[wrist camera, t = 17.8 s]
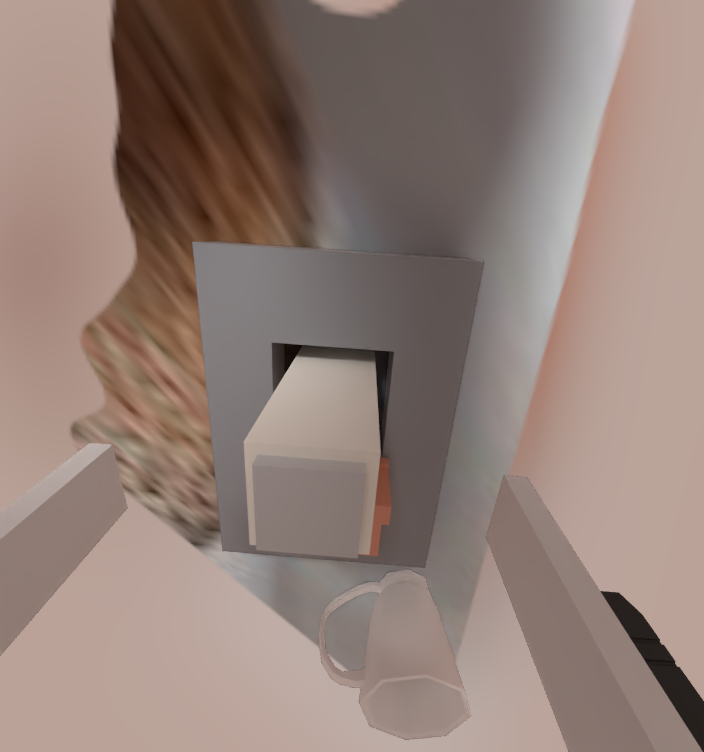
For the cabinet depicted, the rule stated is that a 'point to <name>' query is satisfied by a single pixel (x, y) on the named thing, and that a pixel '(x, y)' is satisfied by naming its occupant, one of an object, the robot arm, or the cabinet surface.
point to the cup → (403, 661)
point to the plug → (316, 457)
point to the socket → (343, 330)
